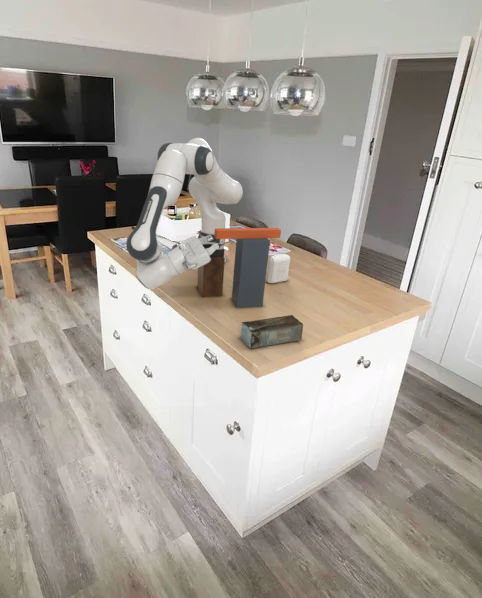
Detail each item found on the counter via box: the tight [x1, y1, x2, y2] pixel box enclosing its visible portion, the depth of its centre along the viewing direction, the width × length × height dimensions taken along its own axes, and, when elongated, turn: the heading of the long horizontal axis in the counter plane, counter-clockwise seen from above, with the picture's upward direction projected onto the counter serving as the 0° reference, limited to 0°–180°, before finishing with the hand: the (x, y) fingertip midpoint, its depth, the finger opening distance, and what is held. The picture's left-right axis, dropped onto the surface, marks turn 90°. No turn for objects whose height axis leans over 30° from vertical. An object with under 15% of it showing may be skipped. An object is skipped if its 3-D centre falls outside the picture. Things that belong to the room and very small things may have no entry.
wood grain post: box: [196, 243, 226, 298], centre depth 164 cm, size 8×10×19 cm
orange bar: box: [214, 227, 282, 240], centre depth 149 cm, size 24×3×3 cm, turn 107°
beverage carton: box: [240, 314, 304, 349], centre depth 135 cm, size 8×19×7 cm, turn 112°
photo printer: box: [265, 253, 291, 284], centre depth 181 cm, size 10×4×12 cm, turn 123°
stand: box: [231, 238, 271, 309], centre depth 155 cm, size 10×8×26 cm
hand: (214, 240), depth 147 cm, fingers open, 8 cm apart
